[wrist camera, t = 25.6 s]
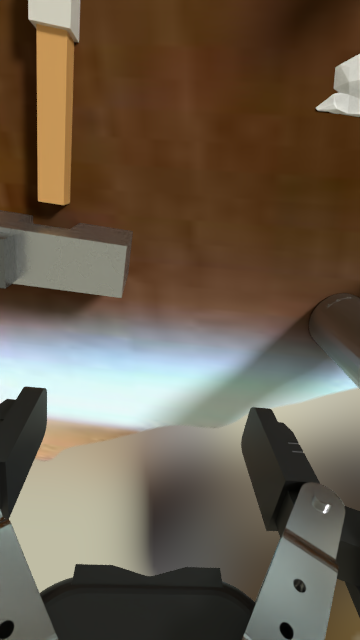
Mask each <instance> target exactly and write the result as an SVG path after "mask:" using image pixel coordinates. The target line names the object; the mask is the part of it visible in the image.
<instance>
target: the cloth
mask: <svg viewBox="0 0 360 640" xmlns="http://www.w3.org/2000/svg"><path fill="white" fill-rule="evenodd" d="M334 89H335V90H337V91H338V92H340V93H336V94H333V95H331V96H330V97H329V98H328V99H327V100H325V101H324V102H323V103H321V104H320V105H319V106H317V107H316V109H317V110H318V111H324V112H326V111H328V112H331V113H334V114H344V115H350V116H356V117H360V54H358V55H357V56H355V57H353V58H351V59H349V60H348V61H346V62H344V63H342V64H340V65H339V66H337V67H335V79H334Z"/></svg>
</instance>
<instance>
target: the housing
mask: <svg viewBox="0 0 360 640" xmlns="http://www.w3.org/2000/svg"><path fill="white" fill-rule="evenodd" d="M132 233H133V231H128V230H121V229H115V228H109V227H102V226H96V225H90V224H83V223H79V224H78V225H76V226H75V227H73V228H72V229H64V228H58V227H51V226H45V225H38V224H33V215H26V214H20V213H13V212H7V211H1V210H0V288H5V289H6V288H7V287H8V286H10V285H11V284H19V285H27V286H35V287H42V288H50V289H57V290H65V291H73V292H80V293H88V294H95V295H103V296H110V297H118V298H122V294H123V290H124V287H125V283H126V280H127V276H128V270H129V261H130V251H131V242H132Z"/></svg>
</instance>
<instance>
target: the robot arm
mask: <svg viewBox="0 0 360 640" xmlns="http://www.w3.org/2000/svg"><path fill="white" fill-rule="evenodd" d="M309 331H310V334H311V336H312V338H313V339H314V340H315V341H316V342H317V343H318V345H319V346H320V347H321V348H322V349H323V350H324V351H325V352H326V353H327V354H328V356H329V357H330V358H331V359H332V360H333V361H334V362H335V363H336V364H337V365H338V366H339V367H340V368H341V369H342V370H343V372H344V373H345V374H346V375H347V376H348V377H349V378H350V379H351V380H352V381H353V382H354V383H355V384H356V385H357V386H358V387H359V388H360V298H358V297H356V296H354V295H352V294H346V293H343V294H336V295H332V296H330V297H328V298H326V299H325V300H323V301H322V302H321V303H320V304H319V305H318V306H317V307H316V308H315V309H314V311H313V312H312V315H311V317H310V321H309ZM46 424H47V390H46V388H35V387H24V388H23V389H22V391H21V393H20V394H19V396H18V397H17V399H16V400H13V399H6V400H5V401H4V402H2V403H1V404H0V640H325V635H326V630H327V625H328V620H329V615H330V610H331V604H332V599H333V594H334V588H335V583H336V579H340V580H342V581H345V583H346V586H347V588H348V590H349V593H350V595H351V598H352V600H353V603H354V605H355V607H356V610H357V612H358V615H359V617H360V511H357V510H355V509H352V508H349V507H346V506H344V504H343V502H342V500H341V499H340V498H339V496H338V495H337V494H336V493H335V492H334V491H332V490H331V489H329V488H328V487H326V486H324V485H322V484H320V482H319V481H318V479H317V477H316V475H315V473H314V471H313V469H312V467H311V465H310V463H309V462H308V460H307V458H306V456H305V454H304V453H303V450H302V449H301V447H300V445H298V441H297V439H296V437H295V435H294V433H293V432H292V431H291V430H290V429H289V428H288V427H287V426H286V425H285V424H284V423H279V422H278V421H277V420H276V417H275V415H274V413H273V411H272V410H271V409H266V408H255V407H252V408H251V409H250V412H249V415H248V419H247V422H246V425H245V429H244V433H243V436H242V442H241V443H242V444H241V446H242V453H243V456H244V460H245V463H246V466H247V469H248V473H249V476H250V479H251V482H252V486H253V489H254V492H255V495H256V498H257V502H258V505H259V508H260V511H261V514H262V518H263V521H264V524H265V527H266V530H267V531H278V532H279V535H280V541H279V543H278V545H277V548H276V551H275V553H274V556H273V558H272V561H271V564H270V566H269V568H268V571H267V573H266V576H265V579H264V581H263V583H262V586H261V588H260V591H259V594H258V596H257V599H256V601H255V602H254V601H253V600H252V599H251V598H249V597H248V596H247V595H246V594H245V593H243V592H242V591H240V590H239V589H237V588H236V587H234V586H232V585H230V584H227V583H225V582H222V579H221V573H220V568H195V567H185V568H182V569H178V570H174V571H170V572H166V573H163V574H159V575H155V576H145V575H141V574H138V573H135V572H132V571H129V570H126V569H123V568H120V567H116V566H113V565H82V564H76V566H75V571H74V576H73V578H69V579H66V580H63V581H61V582H58V583H56V584H54V585H52V586H50V587H48V588H47V589H45V590H44V591H42V592H41V593H39V591H38V589H37V586H36V584H35V581H34V579H33V576H32V574H31V571H30V569H29V566H28V564H27V562H26V559H25V557H24V554H23V552H22V549H21V547H20V544H19V542H18V540H17V537H16V534H15V532H14V529H13V527H12V525H11V523H10V521H9V517H10V514H11V512H12V510H13V508H14V505H15V503H16V501H17V498H18V496H19V494H20V491H21V489H22V487H23V484H24V482H25V480H26V477H27V475H28V472H29V470H30V468H31V466H32V463H33V461H34V459H35V456H36V454H37V452H38V449H39V447H40V445H41V442H42V440H43V437H44V434H45V430H46ZM4 518H6V519H4Z"/></svg>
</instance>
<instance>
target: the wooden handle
mask: <svg viewBox="0 0 360 640" xmlns="http://www.w3.org/2000/svg"><path fill="white" fill-rule="evenodd" d="M28 19H29V21H30V22H31V23H32V24H33V25H34V27H35V28H36V30H37V152H38V201H39V202H46V203H52V204H59V205H66V204H69V203H70V178H71V141H72V105H73V68H74V42H78V43H79V23H80V0H28Z"/></svg>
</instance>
